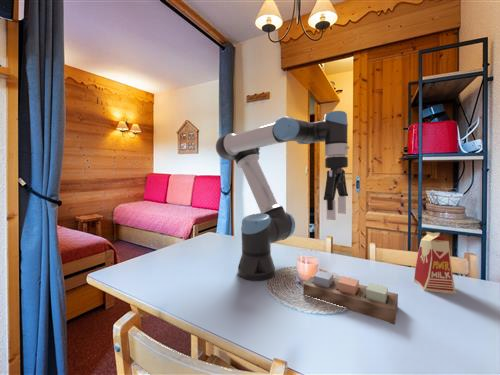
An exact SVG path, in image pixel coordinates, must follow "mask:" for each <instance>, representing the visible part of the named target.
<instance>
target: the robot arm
mask: <svg viewBox="0 0 500 375" xmlns="http://www.w3.org/2000/svg"><path fill="white" fill-rule="evenodd" d="M348 126H349V124H348V114H347V112H345V111H343V110H333V111H329V112H326V113H325V114H324V119H323V120H319V121H313V122H309V121H307V120H302V119H297V118H293V117H292V116H291V117H290V116H281V117H278V118H277V120H275V122H273V123H270V124H267V125H263V126H259V127H256V128H252V129H248V130H247V131H243V132H242V131H241V132H238V133H226V134H224V135H222V136H220V137H219V138H218V139H217V141H216V143H215V150H216V153H217V154H218V156H219V157H220V158H222V159H223V160H227V161H235V163H236V166H237V167H238V168H239V169H242V173H243V174H244V177H245V179H246V182H247V184H248V186H249V188H250V191H251V193H252V195H253V197H254V200H255V201H256V204H257V206H258V207H257V208H258V209H259V211H260V213H252V214H249V215H246V216H244V217H243V219H242V220H241V229H240V231H241V256H240V260H239V263H238V266H237V275H238V276H239V277H241V278H242V279H244V280H247V281H256V282H257V281H264V280H268V279H271V278H272V277H274V276H275V274H276V266H275V264H274V260H273V257H272V255H271V254H272V252H271V251H272V250H271V246H272V245H271V244H274V243H277V242H280V241H283V240H286V239H287V238H290V237H291V236H292V235H293V234H294V232H295V229H296V221H295V219H294V218H295V217H293V215H292V214H291V213H289V212H287V211H285V208H284V207H283V205H280V204H279V203H278V202H277V200H276V197H275V196H274V193H273V191H272V188H271V186H270V184H269V182H268V180H267V177H266V176H265V174H264V172H263V169H262V166H261V165H260V163H259V159H260V153H261V152H260V150H261V149H260V148H263V147H268V146H272V145H276V144H277V145H278V144H283V143H288V142H296V143H297V144H298V145H308V144H314V143H321V142H324V156H325V159H324V164H325V165H324V167H325V169H330V170H326V181H325V189H324V194H323V200H324V201H326V220H327V221H328V220H330V221H336V220H337V218H336V217H337V216H336V215H337V214H343V215H345V214H347V208H346V207H347V205H346V204H347V203H346V202H347V199H346V197H349V193H348V189H347V182H346V171H345V170H343V169H346V168H348V166H349V158H348V157H347V156H348V150H349V149H350V146H349V145H348V131H349V130H348ZM336 193H338V194H337V195H338V196H337V210H336V200H335V198H336ZM336 211H337V214H336Z"/></svg>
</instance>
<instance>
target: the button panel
mask: <svg viewBox="0 0 500 375" xmlns="http://www.w3.org/2000/svg"><path fill="white" fill-rule="evenodd" d="M340 279H341V278H340ZM340 279H339V278H334V277H333V284H332V286H331V287H330V288H327V287H323V286H320V285H316V284H313V281H314V277H311V276H310V277H308V279H307V280H306V281H305V282H304V283H303V284H302V286H303V288H302V289H303V291H302V292H303V293H302V294H303V295H307V296H310V297H313V298H317V299H320V300H324V301H326V302H330V303H333V304H336V305H339V306H343V307H346V308H347V309H348V311H351V312H353V313H357V314H361V315H363V316H367V317H370V318H373V319H376V320H379V321H382V322H385V323H389V324H392V325H395V322H396V318H397V317H396V316H397V311H398V308H399V307H398V305H399V302H398V300H399V294H398V293H395V292H391V291H388V294H387V304H384V303H381V302H377V301H374V300H370V299H367V298H366V289H367V286H368V285H367V286H366V285H364V284H360V283H359V292H358V294H357V296H356V295H352V294H349V293H345V292H341V291H338V282H339V280H340ZM310 297H309V298H310ZM313 298H312V299H313ZM347 309H346V310H347Z"/></svg>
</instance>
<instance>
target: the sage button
mask: <svg viewBox="0 0 500 375" xmlns="http://www.w3.org/2000/svg"><path fill="white" fill-rule="evenodd" d="M388 289H389V287H388V286H383V285H380V284H376V283H373V282H368V284H367V289H366V298H367V299H370V300H374V301H377V302H381V303H384V304H387V294H388V292H389V291H388Z"/></svg>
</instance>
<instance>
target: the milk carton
mask: <svg viewBox="0 0 500 375" xmlns="http://www.w3.org/2000/svg"><path fill="white" fill-rule="evenodd" d="M425 233H426V235H424V236H423V237H422V238H421V239H420V243H419V248H418V251H417V258H416V262H415V267H414V268H415V269H414V276H413V281H414V282H415V283H416V284H418V285H419V286H420V287H421V289H422V290H423V291H424V292H425V291H426V292H434V293H443V294H444V293H445V294H455V295H456V294H457V291H456V287H455V286H456V285H455V282H454V275H453V266H452V261H451V260H452V259H451V252H450V242H449V240H447V239H445V238H444V237H442V236H440V234H441V232H430V231H425Z"/></svg>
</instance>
